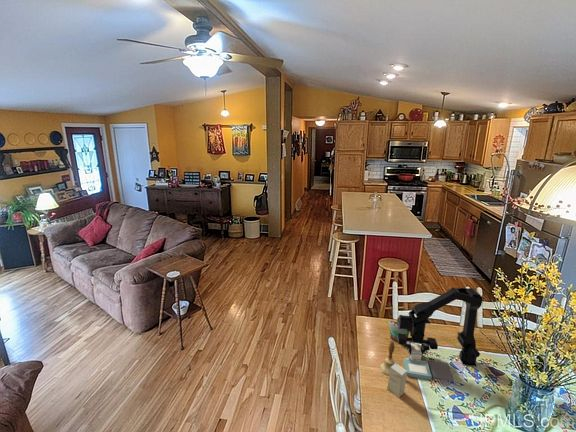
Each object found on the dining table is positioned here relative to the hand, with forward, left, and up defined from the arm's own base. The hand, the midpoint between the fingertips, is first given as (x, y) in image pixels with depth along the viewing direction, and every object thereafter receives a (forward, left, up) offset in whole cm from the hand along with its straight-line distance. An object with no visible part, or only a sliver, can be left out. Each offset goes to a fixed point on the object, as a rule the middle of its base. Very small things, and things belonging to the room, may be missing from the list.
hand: (414, 355), depth 159 cm
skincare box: (+12, +25, -2) cm, 28 cm away
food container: (+7, -12, -2) cm, 14 cm away
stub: (0, 0, -1) cm, 1 cm away
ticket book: (+1, +10, -1) cm, 10 cm away
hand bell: (+14, +12, -2) cm, 18 cm away
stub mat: (-11, +7, -1) cm, 13 cm away
